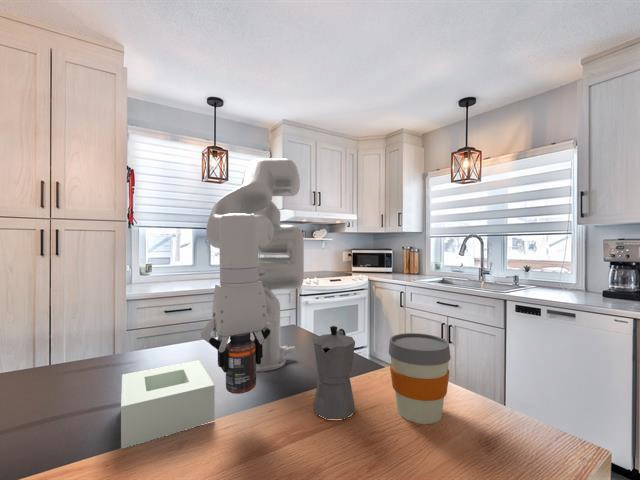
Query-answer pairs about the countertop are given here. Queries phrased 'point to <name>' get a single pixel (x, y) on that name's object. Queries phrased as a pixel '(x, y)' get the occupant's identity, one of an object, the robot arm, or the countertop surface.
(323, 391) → the coffeepot
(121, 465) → the countertop surface
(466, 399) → the countertop surface
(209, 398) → the sage block
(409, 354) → the reusable coffee cup
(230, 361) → the supplement bottle
